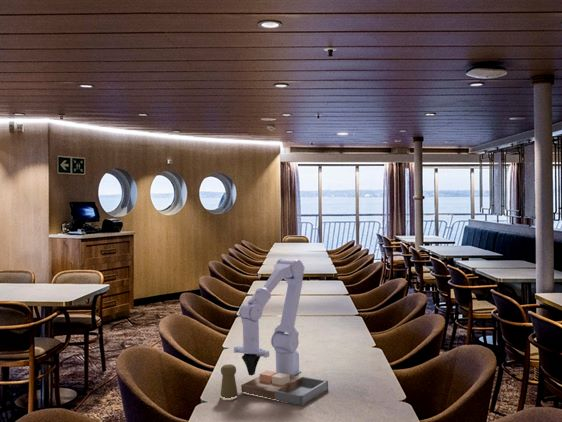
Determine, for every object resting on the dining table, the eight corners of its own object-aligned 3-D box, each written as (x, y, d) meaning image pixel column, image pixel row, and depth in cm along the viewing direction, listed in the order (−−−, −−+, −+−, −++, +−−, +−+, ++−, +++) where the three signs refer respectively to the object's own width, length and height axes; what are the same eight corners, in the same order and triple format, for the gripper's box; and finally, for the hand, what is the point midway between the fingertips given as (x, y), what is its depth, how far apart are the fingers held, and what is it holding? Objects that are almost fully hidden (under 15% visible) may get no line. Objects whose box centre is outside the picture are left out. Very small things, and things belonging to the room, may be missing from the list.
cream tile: (279, 379, 197) (278, 372, 197) (289, 381, 195) (289, 374, 195) (271, 383, 193) (271, 376, 193) (282, 385, 191) (282, 378, 191)
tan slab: (270, 379, 207) (270, 371, 207) (302, 385, 200) (302, 376, 200) (241, 393, 192) (241, 385, 192) (275, 400, 185) (274, 391, 185)
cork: (238, 394, 192) (237, 362, 192) (237, 400, 186) (236, 367, 186) (220, 394, 192) (220, 362, 192) (219, 400, 186) (218, 368, 186)
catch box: (302, 385, 200) (302, 376, 200) (328, 389, 194) (327, 380, 194) (275, 400, 185) (274, 391, 185) (301, 406, 179) (301, 396, 179)
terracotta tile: (266, 377, 200) (266, 370, 200) (277, 379, 198) (277, 372, 198) (259, 380, 196) (259, 373, 196) (270, 382, 194) (270, 375, 194)
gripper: (228, 337, 201) (229, 374, 201) (261, 341, 193) (261, 380, 193) (240, 333, 207) (240, 369, 207) (272, 337, 199) (273, 375, 199)
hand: (251, 374), depth 201 cm, fingers closed
